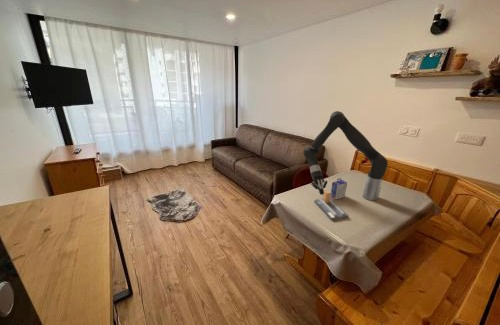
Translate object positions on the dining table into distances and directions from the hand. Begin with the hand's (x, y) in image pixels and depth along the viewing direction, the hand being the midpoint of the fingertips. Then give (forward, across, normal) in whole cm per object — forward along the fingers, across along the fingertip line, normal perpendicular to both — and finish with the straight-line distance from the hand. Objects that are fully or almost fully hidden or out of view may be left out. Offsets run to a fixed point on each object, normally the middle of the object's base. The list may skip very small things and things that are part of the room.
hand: (322, 194), depth 145 cm
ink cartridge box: (+2, +15, +6) cm, 16 cm away
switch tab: (+6, 0, -1) cm, 6 cm away
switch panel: (+12, 0, -4) cm, 12 cm away
